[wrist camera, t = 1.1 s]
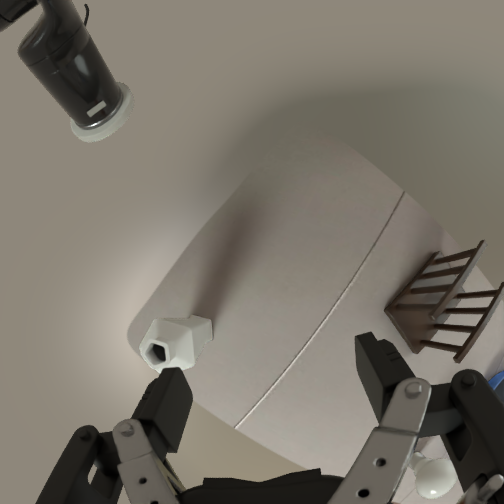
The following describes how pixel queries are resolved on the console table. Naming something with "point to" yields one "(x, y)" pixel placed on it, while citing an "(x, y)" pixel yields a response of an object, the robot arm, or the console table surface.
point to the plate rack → (440, 303)
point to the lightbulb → (432, 475)
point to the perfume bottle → (175, 342)
